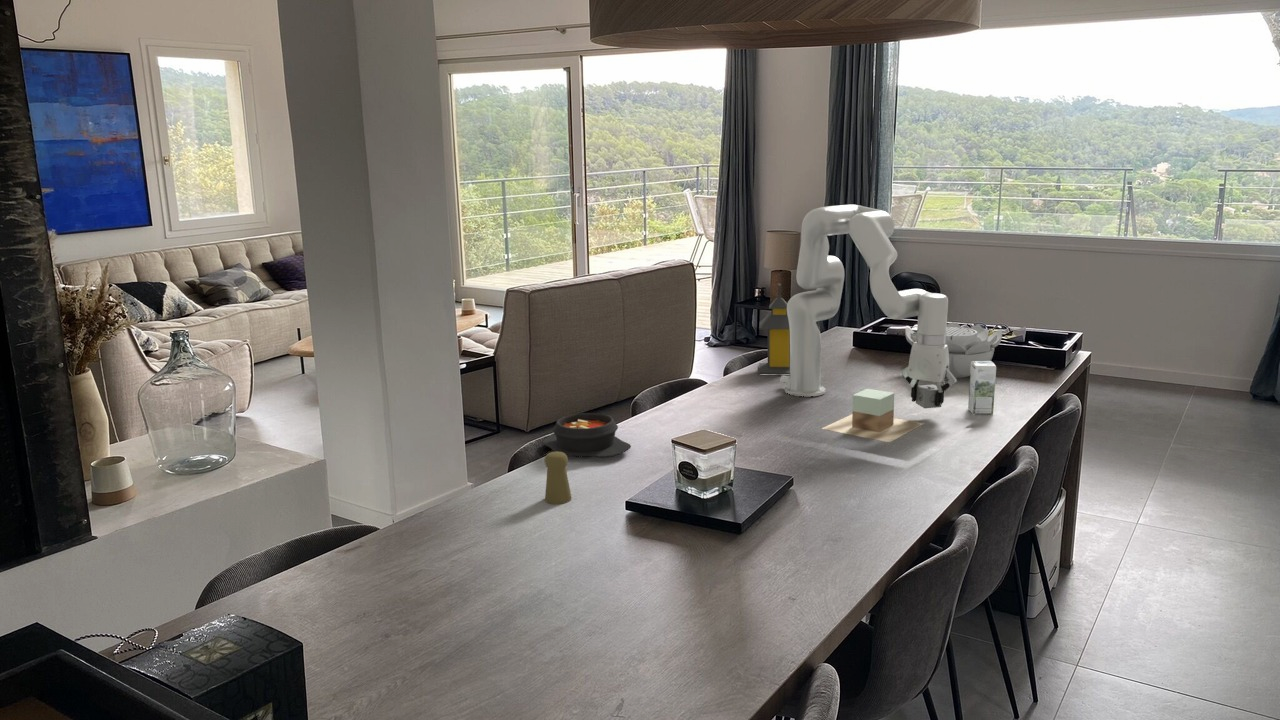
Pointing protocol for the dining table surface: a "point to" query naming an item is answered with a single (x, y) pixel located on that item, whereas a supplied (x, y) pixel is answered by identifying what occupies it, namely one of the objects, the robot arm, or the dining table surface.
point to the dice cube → (926, 396)
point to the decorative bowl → (965, 346)
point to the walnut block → (872, 421)
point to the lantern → (777, 338)
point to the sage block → (873, 402)
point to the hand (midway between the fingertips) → (926, 402)
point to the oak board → (886, 435)
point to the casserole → (586, 436)
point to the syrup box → (982, 387)
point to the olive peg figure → (557, 479)
